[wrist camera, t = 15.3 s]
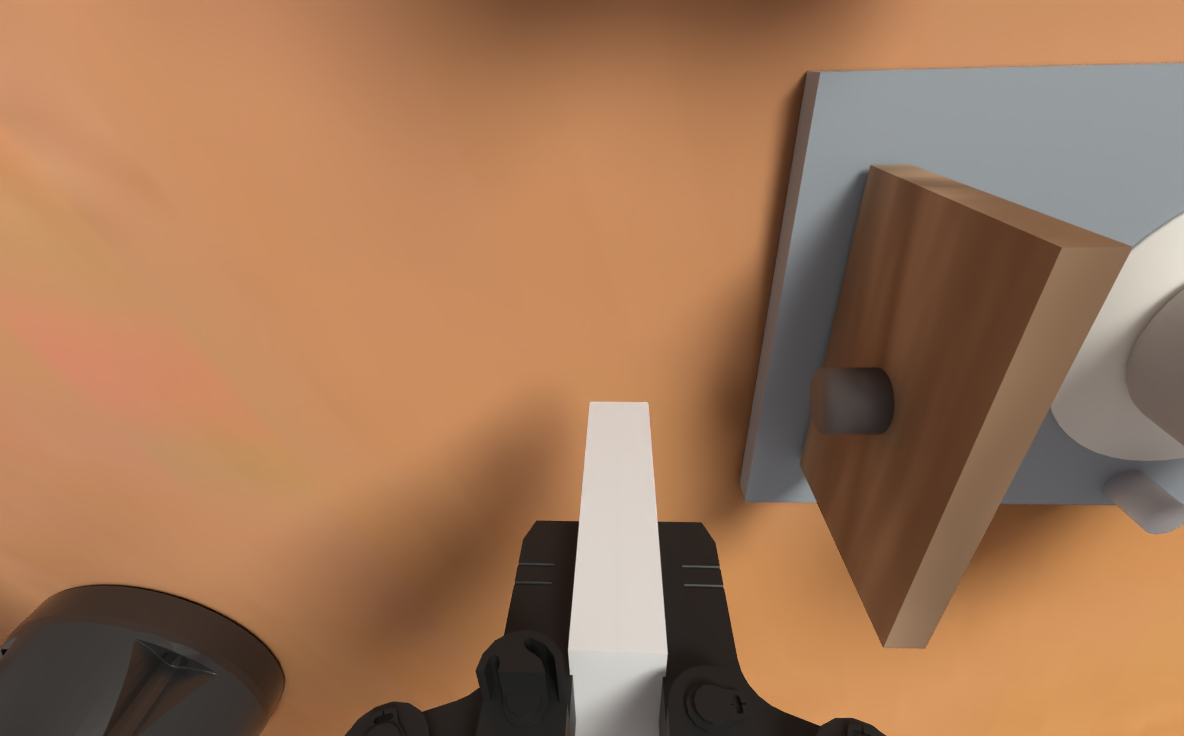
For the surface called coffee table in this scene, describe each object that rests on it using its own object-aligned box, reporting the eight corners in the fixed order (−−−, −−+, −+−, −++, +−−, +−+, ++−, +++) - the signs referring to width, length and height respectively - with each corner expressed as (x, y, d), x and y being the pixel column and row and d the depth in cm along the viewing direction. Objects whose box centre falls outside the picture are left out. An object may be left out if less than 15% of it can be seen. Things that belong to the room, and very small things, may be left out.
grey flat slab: (739, 483, 25) (755, 536, 22) (807, 71, 16) (846, 74, 13) (1273, 486, 24) (1359, 542, 21) (1650, 51, 15) (1878, 51, 13)
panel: (761, 464, 22) (827, 646, 15) (817, 165, 16) (968, 248, 9) (828, 464, 22) (924, 648, 15) (910, 164, 16) (1132, 246, 9)
